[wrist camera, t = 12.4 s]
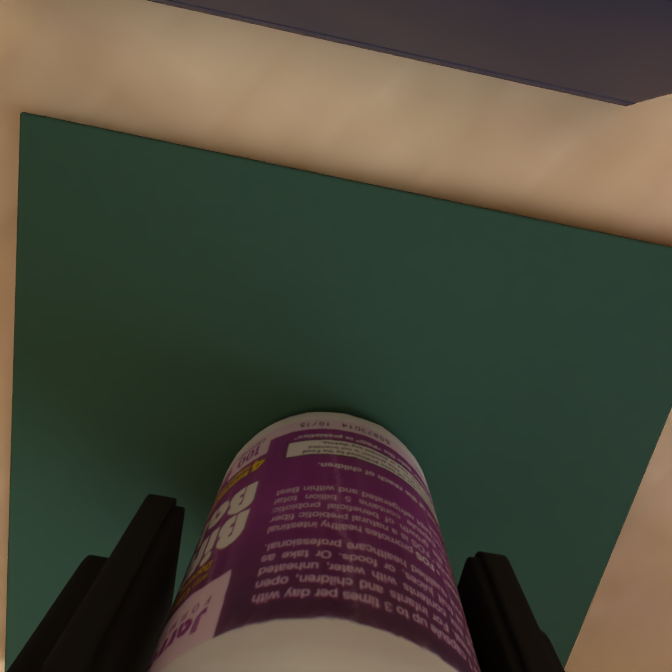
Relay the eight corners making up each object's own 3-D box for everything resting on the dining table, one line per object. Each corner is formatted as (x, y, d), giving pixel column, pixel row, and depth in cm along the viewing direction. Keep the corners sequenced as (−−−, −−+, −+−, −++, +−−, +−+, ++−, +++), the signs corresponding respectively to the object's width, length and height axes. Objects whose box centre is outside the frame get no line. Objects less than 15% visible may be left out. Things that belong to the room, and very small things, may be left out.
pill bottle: (226, 393, 13) (-70, 946, 4) (441, 415, 13) (703, 1004, 4) (217, 575, 14) (-9, 1298, 5) (409, 593, 14) (537, 1331, 5)
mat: (34, 114, 12) (19, 111, 11) (715, 256, 12) (733, 259, 12) (15, 667, 16) (3, 685, 15) (518, 745, 17) (525, 765, 16)
